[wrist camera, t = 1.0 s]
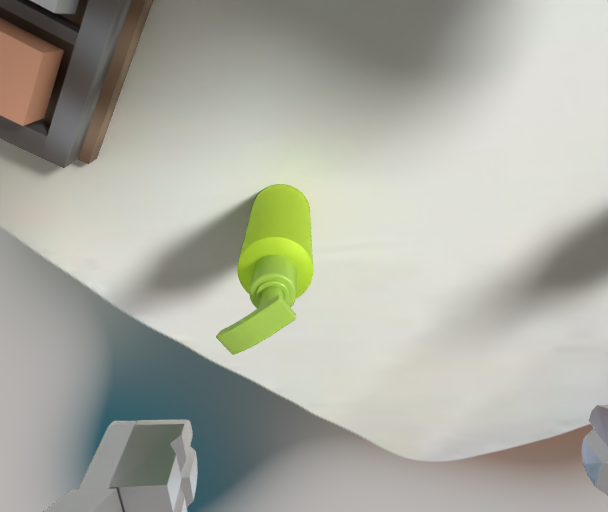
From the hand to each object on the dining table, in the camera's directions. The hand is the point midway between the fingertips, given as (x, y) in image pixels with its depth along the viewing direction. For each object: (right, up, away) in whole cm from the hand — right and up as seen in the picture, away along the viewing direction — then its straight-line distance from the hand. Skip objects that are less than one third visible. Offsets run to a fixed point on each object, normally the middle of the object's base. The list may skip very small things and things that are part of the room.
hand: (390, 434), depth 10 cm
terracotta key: (-25, +19, +30) cm, 43 cm away
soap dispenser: (-4, +8, +40) cm, 41 cm away
